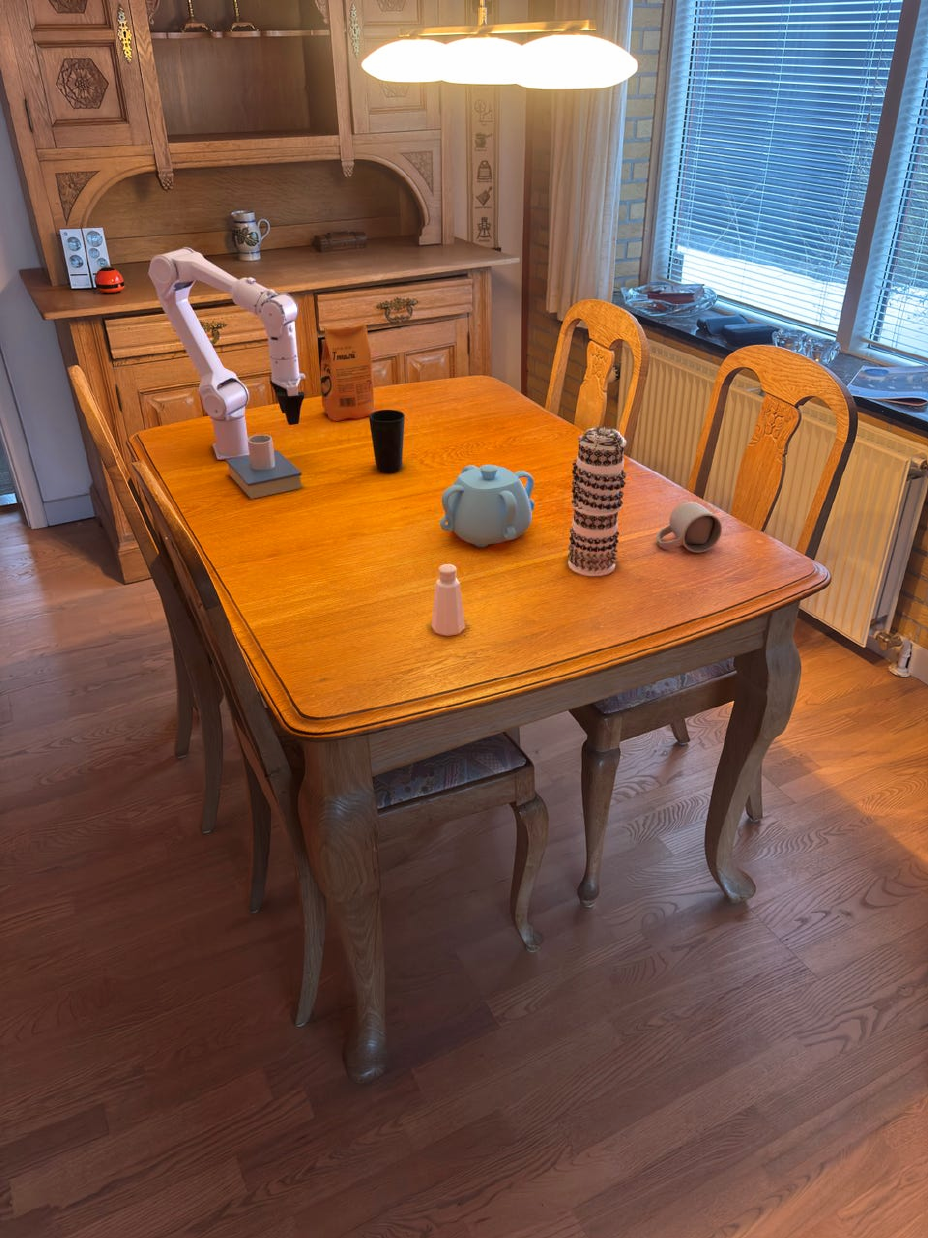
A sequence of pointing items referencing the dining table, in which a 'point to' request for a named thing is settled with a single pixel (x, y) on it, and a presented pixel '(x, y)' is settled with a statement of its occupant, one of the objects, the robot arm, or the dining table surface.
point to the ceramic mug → (691, 528)
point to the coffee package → (347, 373)
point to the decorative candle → (596, 501)
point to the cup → (387, 439)
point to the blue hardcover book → (264, 476)
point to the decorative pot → (488, 505)
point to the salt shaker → (447, 603)
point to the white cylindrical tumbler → (261, 452)
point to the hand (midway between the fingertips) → (290, 418)
